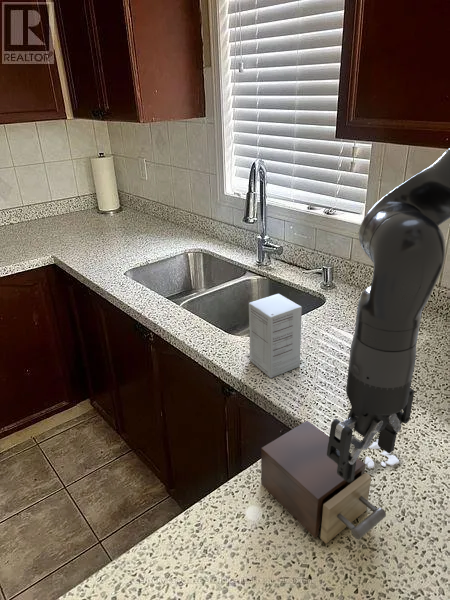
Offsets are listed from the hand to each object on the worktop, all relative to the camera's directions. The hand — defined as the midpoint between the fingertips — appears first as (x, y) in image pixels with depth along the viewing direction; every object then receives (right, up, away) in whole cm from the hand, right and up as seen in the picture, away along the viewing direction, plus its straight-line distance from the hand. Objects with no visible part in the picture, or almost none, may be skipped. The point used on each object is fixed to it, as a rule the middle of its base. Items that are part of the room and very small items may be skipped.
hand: (366, 462), depth 62 cm
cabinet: (-5, -11, +14) cm, 19 cm away
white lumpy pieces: (+8, -7, +21) cm, 24 cm away
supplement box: (-7, +6, +50) cm, 51 cm away
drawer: (-3, -12, +11) cm, 16 cm away
